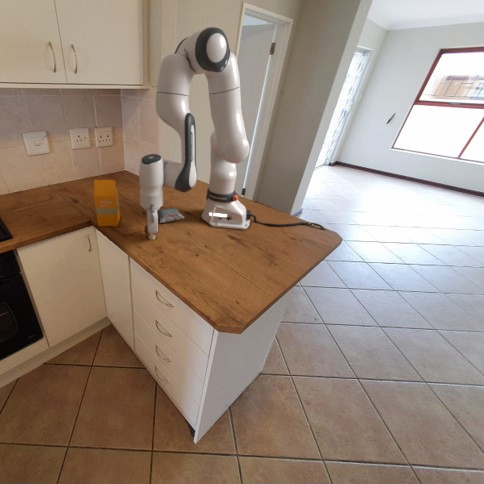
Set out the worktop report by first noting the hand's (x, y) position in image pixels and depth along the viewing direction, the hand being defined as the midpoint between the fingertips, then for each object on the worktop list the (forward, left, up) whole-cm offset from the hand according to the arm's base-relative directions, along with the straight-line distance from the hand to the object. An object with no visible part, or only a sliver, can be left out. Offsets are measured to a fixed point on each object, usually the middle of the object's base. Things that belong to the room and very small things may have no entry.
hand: (151, 231), depth 102 cm
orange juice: (+23, -5, -3) cm, 24 cm away
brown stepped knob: (0, 0, -3) cm, 3 cm away
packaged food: (-2, -17, -3) cm, 17 cm away
